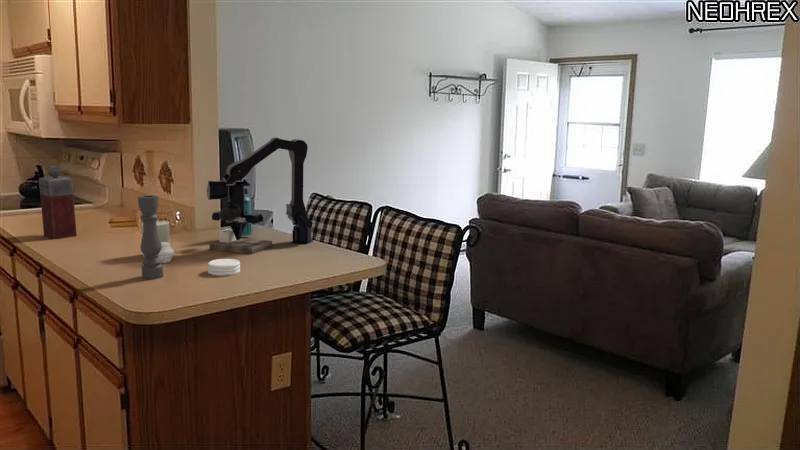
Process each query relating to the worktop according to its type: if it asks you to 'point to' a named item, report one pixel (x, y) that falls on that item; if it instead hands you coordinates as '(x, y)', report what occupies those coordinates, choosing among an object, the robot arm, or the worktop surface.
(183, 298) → the worktop surface
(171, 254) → the muffin
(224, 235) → the fader knob
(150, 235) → the candle holder
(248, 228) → the beverage bottle
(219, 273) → the white flat disc
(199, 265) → the worktop surface
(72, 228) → the red lidded canister
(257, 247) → the fader console
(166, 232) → the can
